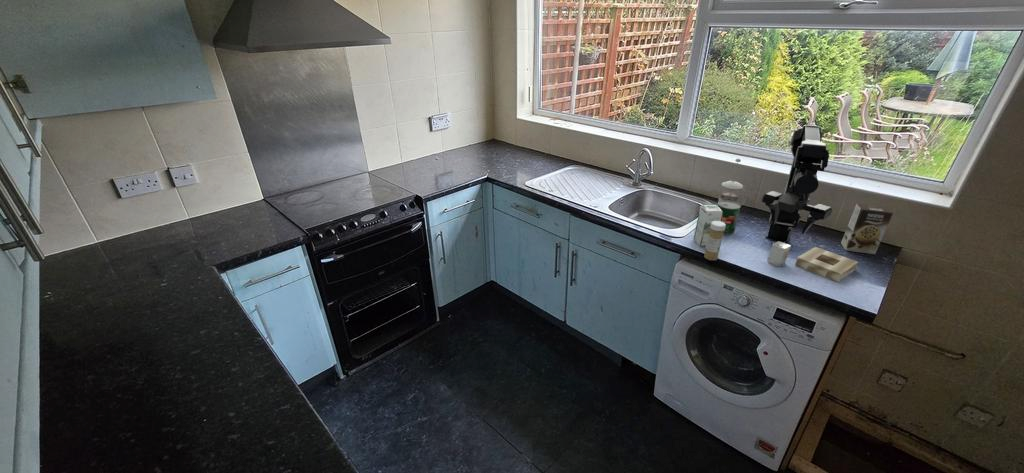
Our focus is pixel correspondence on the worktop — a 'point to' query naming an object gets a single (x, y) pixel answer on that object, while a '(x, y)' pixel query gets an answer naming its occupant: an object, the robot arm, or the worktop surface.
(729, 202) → the canned tomato
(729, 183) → the french press
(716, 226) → the sprinkles bottle
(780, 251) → the grey rectangular block
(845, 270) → the well block
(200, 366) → the worktop surface
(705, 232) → the syrup box
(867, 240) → the cookie box
